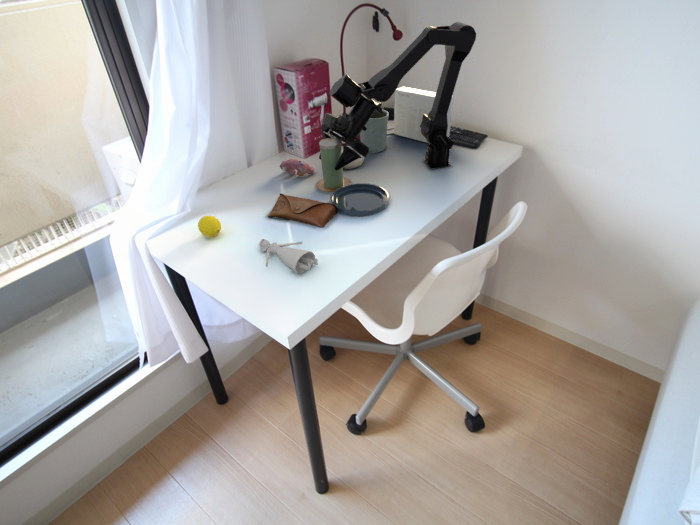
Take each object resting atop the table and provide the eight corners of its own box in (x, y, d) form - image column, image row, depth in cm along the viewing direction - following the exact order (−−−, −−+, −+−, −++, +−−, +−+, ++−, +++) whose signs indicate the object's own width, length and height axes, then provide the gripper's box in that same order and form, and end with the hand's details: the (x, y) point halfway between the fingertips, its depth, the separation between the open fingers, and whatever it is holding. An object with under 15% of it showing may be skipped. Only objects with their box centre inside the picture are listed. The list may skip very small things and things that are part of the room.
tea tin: (342, 177, 132) (338, 136, 124) (346, 186, 127) (343, 144, 119) (322, 180, 131) (317, 139, 123) (325, 190, 126) (320, 147, 118)
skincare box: (450, 142, 150) (454, 95, 140) (441, 147, 147) (445, 99, 137) (402, 129, 162) (403, 85, 152) (393, 134, 159) (393, 89, 149)
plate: (380, 186, 127) (380, 179, 126) (395, 212, 115) (395, 206, 113) (327, 193, 125) (326, 187, 124) (336, 222, 113) (335, 215, 111)
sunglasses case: (264, 216, 116) (268, 191, 115) (278, 216, 122) (282, 193, 121) (324, 228, 110) (328, 202, 108) (335, 228, 116) (339, 203, 115)
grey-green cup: (357, 143, 154) (356, 109, 146) (385, 140, 154) (385, 107, 147) (361, 155, 145) (360, 119, 138) (391, 152, 146) (391, 116, 139)
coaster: (347, 176, 134) (346, 174, 133) (353, 190, 126) (353, 188, 125) (315, 180, 132) (314, 178, 132) (319, 195, 125) (319, 193, 124)
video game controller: (283, 178, 138) (275, 164, 132) (288, 167, 140) (281, 152, 134) (311, 182, 135) (304, 168, 129) (316, 170, 137) (309, 156, 130)
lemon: (196, 235, 112) (190, 217, 108) (214, 226, 115) (208, 208, 111) (210, 244, 108) (205, 226, 104) (229, 235, 111) (224, 217, 107)
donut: (362, 170, 136) (365, 157, 144) (362, 160, 134) (364, 147, 142) (331, 171, 137) (335, 157, 145) (330, 161, 135) (334, 147, 143)
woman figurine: (292, 270, 90) (240, 246, 100) (296, 287, 92) (244, 262, 103) (330, 244, 97) (277, 224, 107) (332, 261, 99) (280, 239, 110)
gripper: (322, 93, 123) (293, 140, 125) (357, 109, 110) (323, 162, 112) (348, 115, 130) (319, 158, 133) (383, 132, 117) (351, 180, 120)
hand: (327, 164), depth 124 cm, fingers open, 9 cm apart
